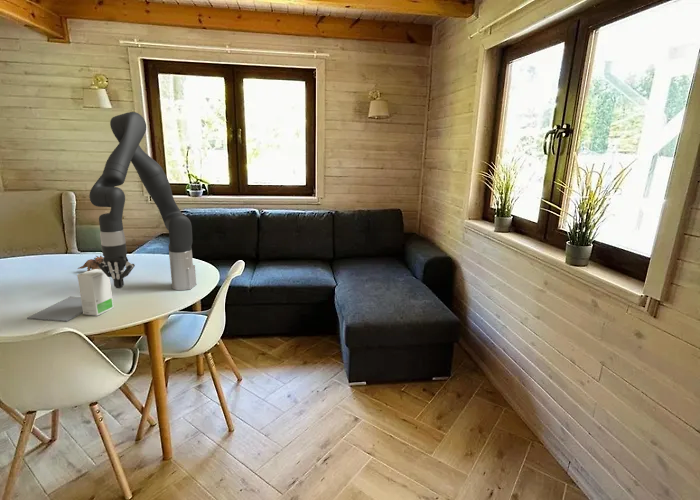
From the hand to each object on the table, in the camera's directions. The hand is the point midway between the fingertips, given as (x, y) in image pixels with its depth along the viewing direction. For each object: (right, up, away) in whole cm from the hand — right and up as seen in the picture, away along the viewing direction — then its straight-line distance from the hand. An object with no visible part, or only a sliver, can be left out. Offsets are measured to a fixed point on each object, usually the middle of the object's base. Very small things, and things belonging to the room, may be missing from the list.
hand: (119, 287), depth 142 cm
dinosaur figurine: (-38, +3, +44) cm, 58 cm away
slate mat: (-22, -9, +4) cm, 24 cm away
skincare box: (-10, -9, +3) cm, 14 cm away
